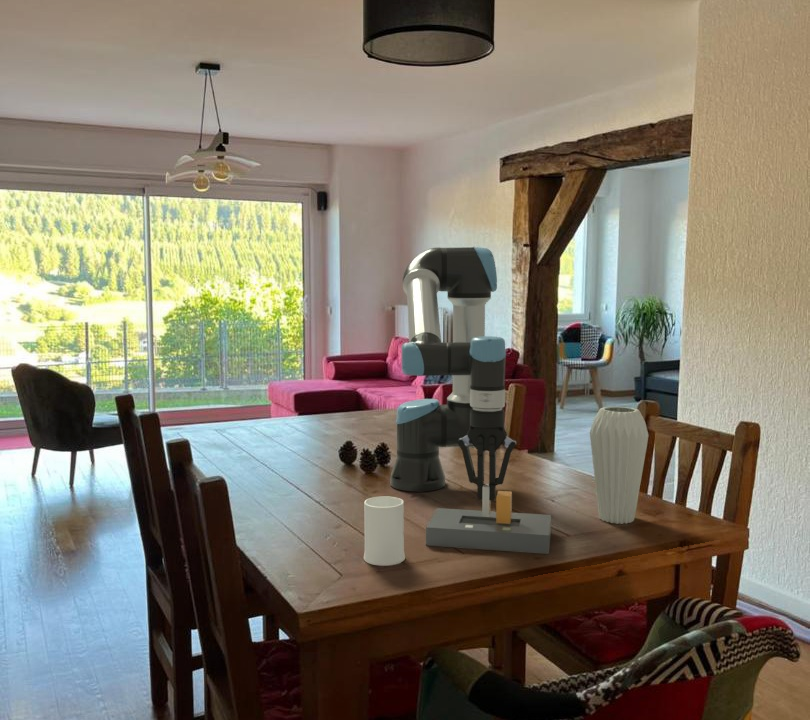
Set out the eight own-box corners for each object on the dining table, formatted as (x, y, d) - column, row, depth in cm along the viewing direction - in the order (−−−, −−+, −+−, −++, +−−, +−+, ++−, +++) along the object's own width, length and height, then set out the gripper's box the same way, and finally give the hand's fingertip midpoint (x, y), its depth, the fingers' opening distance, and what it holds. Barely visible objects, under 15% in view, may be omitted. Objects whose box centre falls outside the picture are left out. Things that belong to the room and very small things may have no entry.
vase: (636, 531, 178) (640, 416, 175) (579, 521, 185) (582, 411, 182) (652, 515, 190) (656, 407, 187) (598, 507, 197) (600, 402, 194)
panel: (426, 545, 170) (426, 526, 169) (436, 524, 183) (437, 507, 183) (548, 553, 164) (549, 534, 164) (550, 532, 178) (551, 514, 178)
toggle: (496, 522, 171) (496, 495, 170) (497, 517, 175) (498, 490, 174) (510, 523, 171) (510, 496, 170) (511, 518, 174) (511, 491, 174)
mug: (351, 550, 167) (350, 494, 166) (387, 543, 171) (387, 489, 169) (373, 568, 157) (373, 510, 155) (412, 561, 160) (412, 504, 159)
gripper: (454, 410, 168) (454, 517, 171) (516, 412, 166) (514, 521, 168) (459, 404, 176) (459, 507, 178) (518, 406, 173) (517, 511, 176)
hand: (486, 514), depth 173 cm, fingers closed
